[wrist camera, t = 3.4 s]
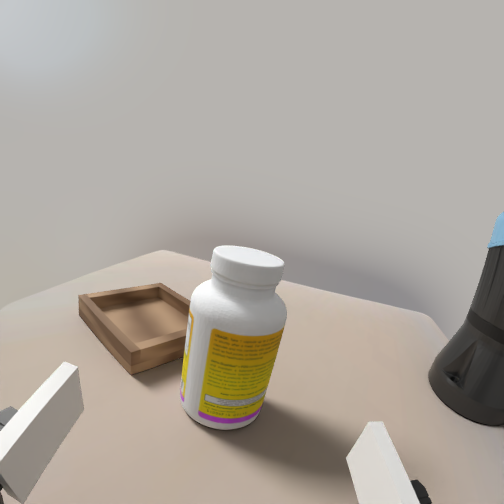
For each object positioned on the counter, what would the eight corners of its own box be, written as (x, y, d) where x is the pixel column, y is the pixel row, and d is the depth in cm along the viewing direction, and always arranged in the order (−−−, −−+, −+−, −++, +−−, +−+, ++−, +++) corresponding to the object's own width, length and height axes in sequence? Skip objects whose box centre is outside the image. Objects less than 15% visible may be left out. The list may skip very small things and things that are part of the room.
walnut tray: (159, 299, 39) (160, 282, 39) (222, 341, 33) (226, 322, 32) (79, 314, 30) (78, 295, 29) (131, 375, 23) (130, 352, 22)
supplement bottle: (275, 412, 22) (319, 268, 20) (214, 445, 18) (249, 277, 15) (223, 372, 27) (250, 241, 24) (163, 392, 22) (179, 240, 19)
